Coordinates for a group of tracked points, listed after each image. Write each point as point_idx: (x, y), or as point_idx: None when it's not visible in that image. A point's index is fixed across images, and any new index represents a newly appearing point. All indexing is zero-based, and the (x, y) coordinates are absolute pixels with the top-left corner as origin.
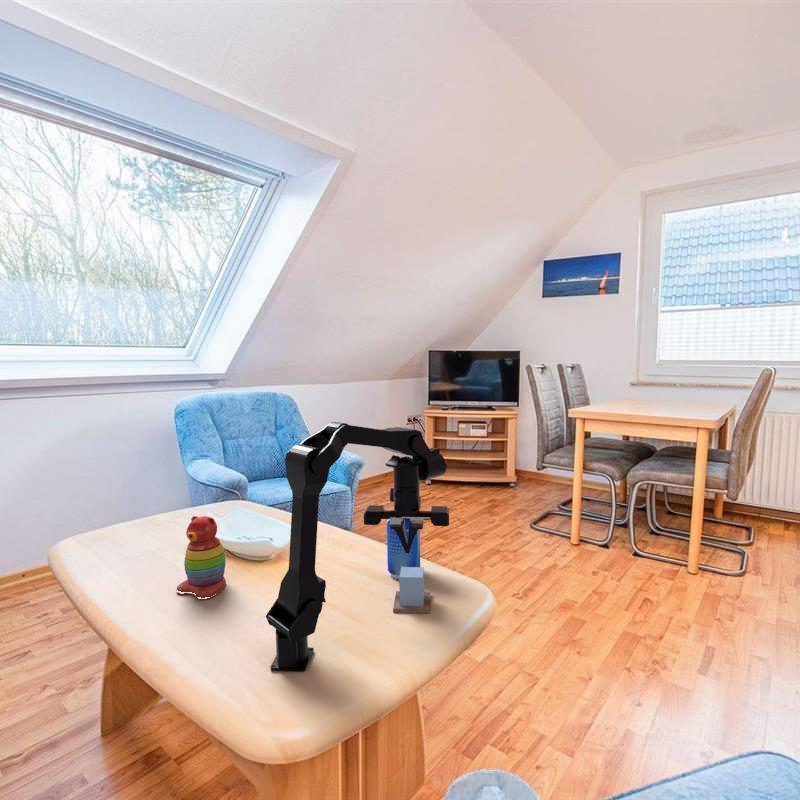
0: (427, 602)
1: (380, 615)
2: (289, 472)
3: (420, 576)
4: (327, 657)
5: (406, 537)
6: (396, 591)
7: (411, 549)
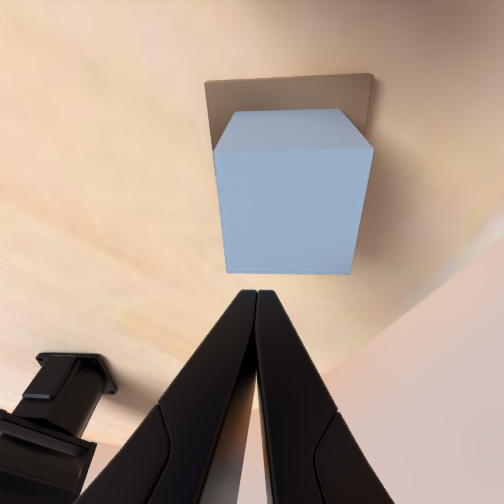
0: None
1: (188, 236)
2: None
3: (337, 265)
4: (134, 364)
5: (232, 410)
6: (205, 84)
7: None
